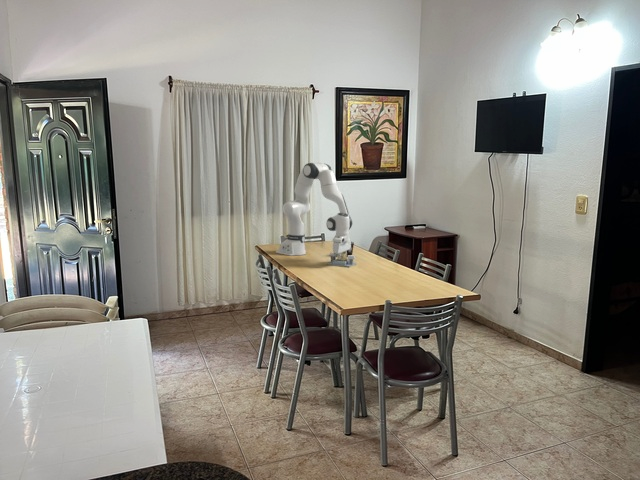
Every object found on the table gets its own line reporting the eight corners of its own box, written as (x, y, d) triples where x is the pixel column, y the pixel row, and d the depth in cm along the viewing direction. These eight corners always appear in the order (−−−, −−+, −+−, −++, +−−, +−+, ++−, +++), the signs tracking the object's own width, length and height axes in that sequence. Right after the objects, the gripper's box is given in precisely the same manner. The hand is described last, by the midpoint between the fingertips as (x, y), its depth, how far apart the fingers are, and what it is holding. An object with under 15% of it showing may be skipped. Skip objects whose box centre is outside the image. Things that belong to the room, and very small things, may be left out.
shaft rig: (326, 264, 330) (326, 254, 329) (333, 261, 340) (334, 251, 338) (350, 267, 321) (351, 257, 320) (357, 264, 331) (358, 254, 330)
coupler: (337, 260, 329) (337, 253, 328) (340, 259, 333) (340, 252, 332) (343, 261, 327) (343, 254, 326) (346, 260, 331) (346, 253, 330)
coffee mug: (353, 254, 361) (354, 241, 360) (353, 257, 353) (353, 243, 351) (337, 254, 363) (338, 240, 361) (337, 256, 354) (337, 243, 352)
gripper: (345, 235, 338) (344, 254, 340) (331, 239, 320) (330, 260, 323) (353, 235, 335) (353, 256, 337) (340, 240, 317) (339, 261, 320)
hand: (342, 258), depth 330 cm, fingers closed on coupler, 4 cm apart
